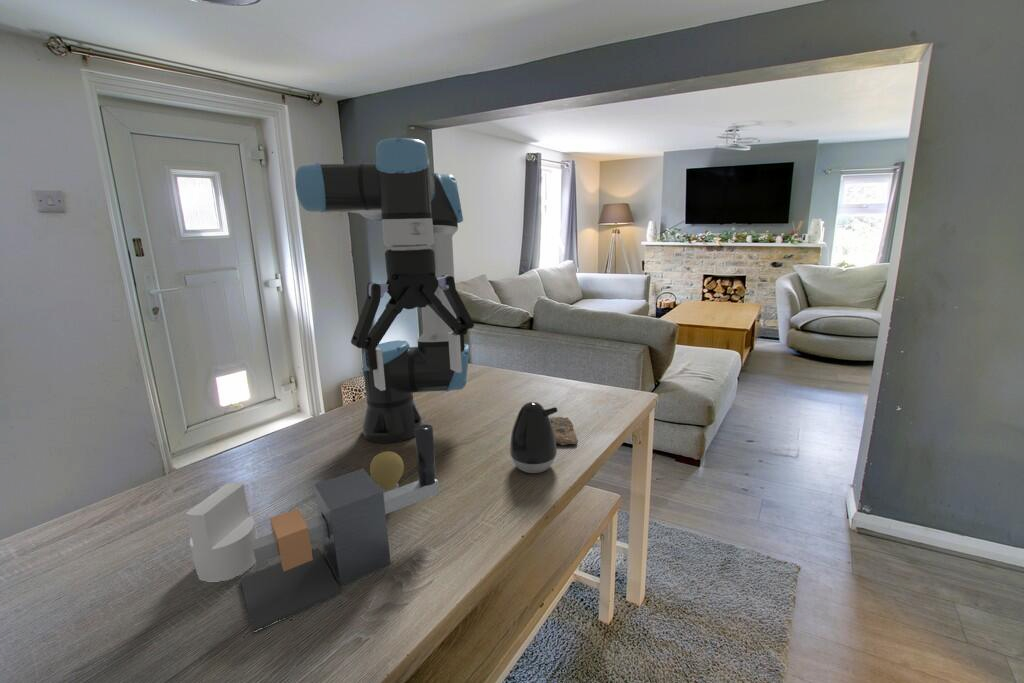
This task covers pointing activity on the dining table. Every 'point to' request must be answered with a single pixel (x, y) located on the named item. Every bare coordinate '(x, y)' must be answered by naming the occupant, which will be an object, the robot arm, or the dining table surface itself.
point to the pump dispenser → (533, 439)
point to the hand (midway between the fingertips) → (420, 379)
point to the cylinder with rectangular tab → (222, 534)
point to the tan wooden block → (292, 539)
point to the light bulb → (387, 470)
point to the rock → (563, 430)
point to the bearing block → (353, 525)
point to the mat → (287, 590)
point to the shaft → (392, 499)
